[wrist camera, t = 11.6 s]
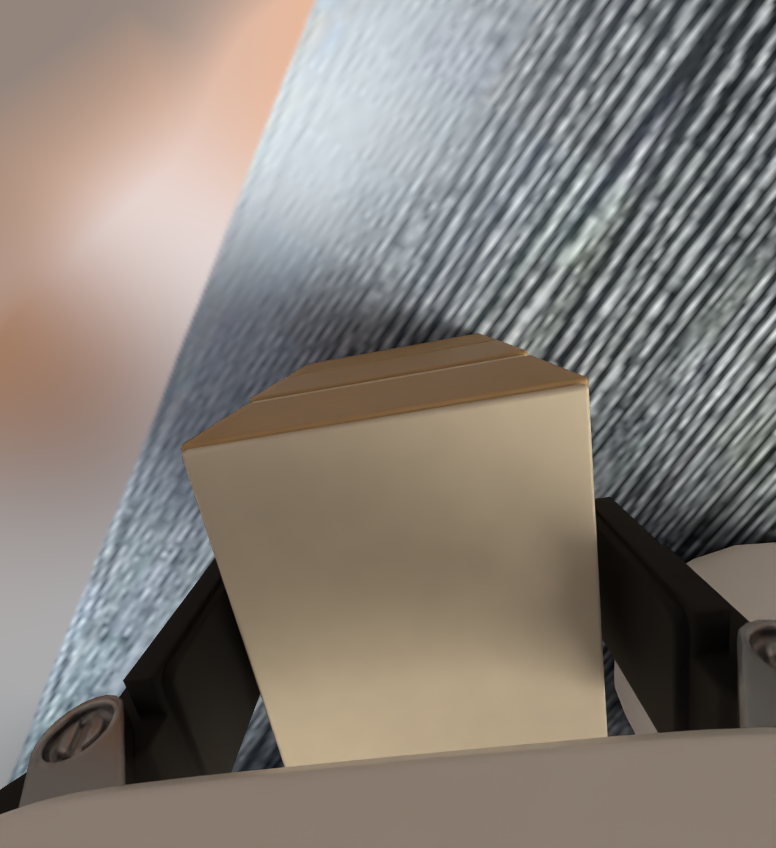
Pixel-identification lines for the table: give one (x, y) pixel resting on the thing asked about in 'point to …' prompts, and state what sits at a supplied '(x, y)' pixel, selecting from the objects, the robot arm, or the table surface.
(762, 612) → the can
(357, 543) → the cream book
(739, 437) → the table surface
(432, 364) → the cream book pile middle
